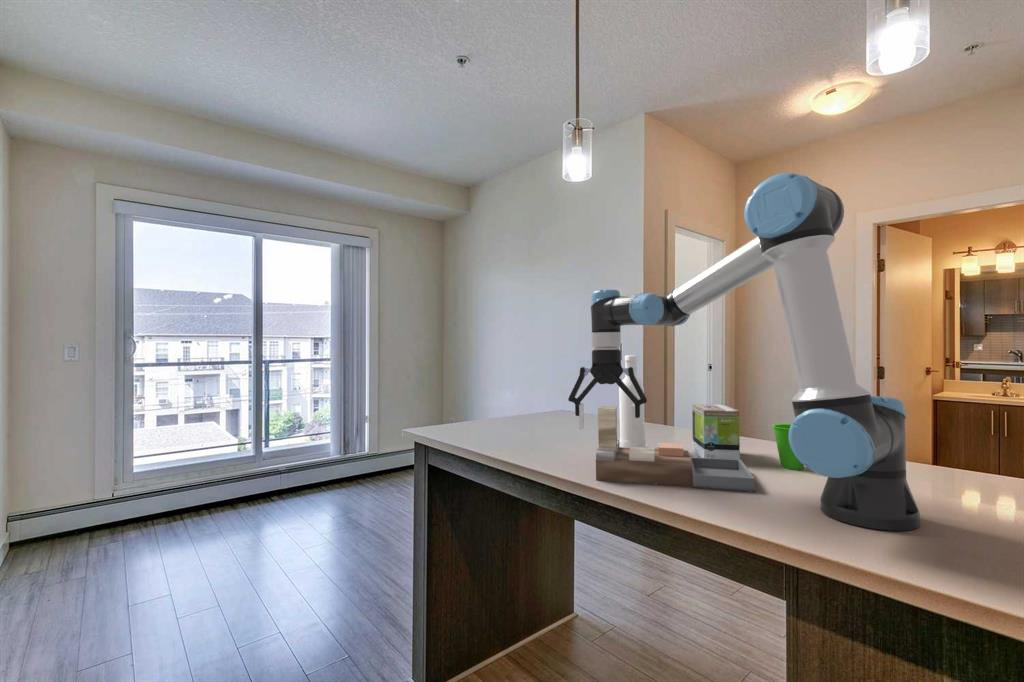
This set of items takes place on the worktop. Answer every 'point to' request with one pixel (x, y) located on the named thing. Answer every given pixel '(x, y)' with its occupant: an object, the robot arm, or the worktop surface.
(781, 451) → the cup
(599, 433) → the two-tone beige block
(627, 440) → the bottle
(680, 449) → the terracotta tile
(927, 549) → the worktop surface
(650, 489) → the worktop surface
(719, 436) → the tea box
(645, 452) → the cream tile
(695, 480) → the tray
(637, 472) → the board
